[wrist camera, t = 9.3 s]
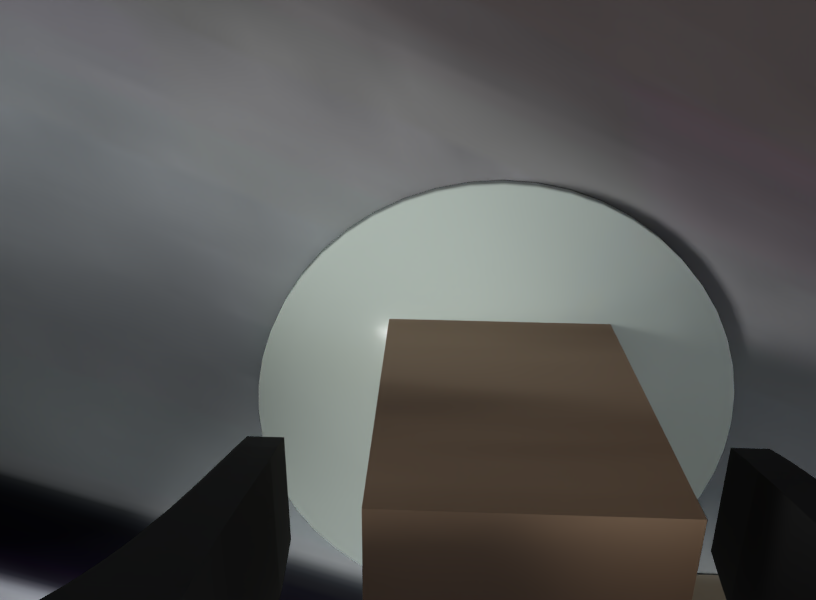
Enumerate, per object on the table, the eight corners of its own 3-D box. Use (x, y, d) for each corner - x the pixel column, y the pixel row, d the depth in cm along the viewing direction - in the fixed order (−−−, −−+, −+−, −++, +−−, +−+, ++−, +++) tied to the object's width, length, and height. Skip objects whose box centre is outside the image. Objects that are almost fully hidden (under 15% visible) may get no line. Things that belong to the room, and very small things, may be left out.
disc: (691, 593, 17) (696, 606, 16) (276, 580, 17) (273, 593, 17) (766, 183, 13) (775, 189, 13) (246, 176, 14) (240, 182, 13)
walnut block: (588, 506, 16) (660, 761, 11) (388, 499, 16) (365, 749, 11) (610, 323, 14) (707, 519, 9) (389, 318, 14) (360, 509, 9)
